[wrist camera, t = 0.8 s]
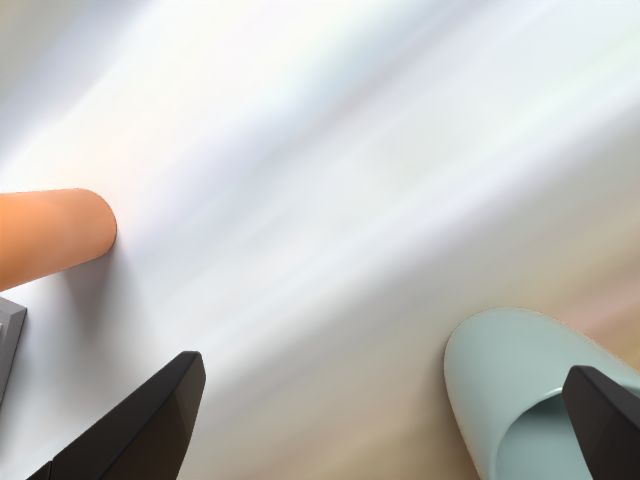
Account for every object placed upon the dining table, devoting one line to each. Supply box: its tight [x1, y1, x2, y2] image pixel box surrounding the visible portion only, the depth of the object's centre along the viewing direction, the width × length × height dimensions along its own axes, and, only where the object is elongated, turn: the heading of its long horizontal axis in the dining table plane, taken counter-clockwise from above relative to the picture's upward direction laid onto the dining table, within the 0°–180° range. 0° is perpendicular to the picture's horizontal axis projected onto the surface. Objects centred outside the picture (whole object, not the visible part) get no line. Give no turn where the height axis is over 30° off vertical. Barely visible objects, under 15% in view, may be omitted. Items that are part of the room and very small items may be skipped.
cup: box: [444, 307, 640, 480], centre depth 19 cm, size 8×8×10 cm
